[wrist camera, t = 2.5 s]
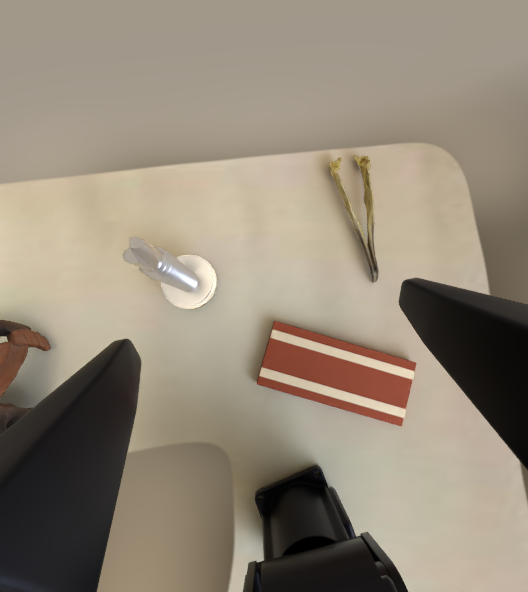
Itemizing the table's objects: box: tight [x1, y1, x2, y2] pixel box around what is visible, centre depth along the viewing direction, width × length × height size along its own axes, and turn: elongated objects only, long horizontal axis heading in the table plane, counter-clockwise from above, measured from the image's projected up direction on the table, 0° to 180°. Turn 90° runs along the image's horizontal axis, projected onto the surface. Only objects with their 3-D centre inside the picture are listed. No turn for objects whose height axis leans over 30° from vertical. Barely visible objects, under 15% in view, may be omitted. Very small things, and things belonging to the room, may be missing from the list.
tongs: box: [329, 155, 378, 282], centre depth 25 cm, size 4×13×2 cm, turn 16°
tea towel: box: [257, 321, 416, 426], centre depth 24 cm, size 14×6×1 cm, turn 74°
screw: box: [123, 237, 217, 309], centre depth 18 cm, size 13×5×5 cm
